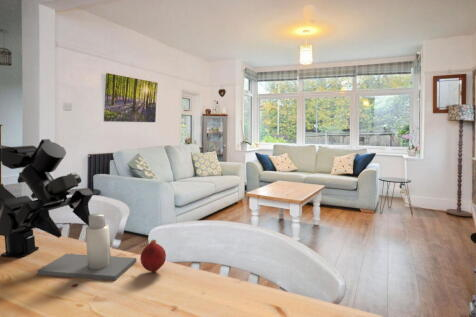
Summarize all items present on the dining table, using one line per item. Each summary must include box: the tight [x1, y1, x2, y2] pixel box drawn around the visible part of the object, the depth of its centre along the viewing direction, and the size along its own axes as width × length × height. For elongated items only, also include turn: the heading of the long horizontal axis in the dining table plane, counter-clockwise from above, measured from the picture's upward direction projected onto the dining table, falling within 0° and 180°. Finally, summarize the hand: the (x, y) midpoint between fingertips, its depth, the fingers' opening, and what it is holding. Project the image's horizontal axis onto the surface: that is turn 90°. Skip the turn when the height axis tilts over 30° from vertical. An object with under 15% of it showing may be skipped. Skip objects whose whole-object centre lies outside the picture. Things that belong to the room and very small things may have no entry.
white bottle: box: [85, 212, 111, 269], centre depth 78 cm, size 5×5×12 cm
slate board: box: [36, 253, 137, 281], centre depth 79 cm, size 20×10×1 cm, turn 81°
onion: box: [139, 238, 167, 273], centre depth 76 cm, size 6×6×8 cm
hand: (76, 230), depth 80 cm, fingers open, 9 cm apart
